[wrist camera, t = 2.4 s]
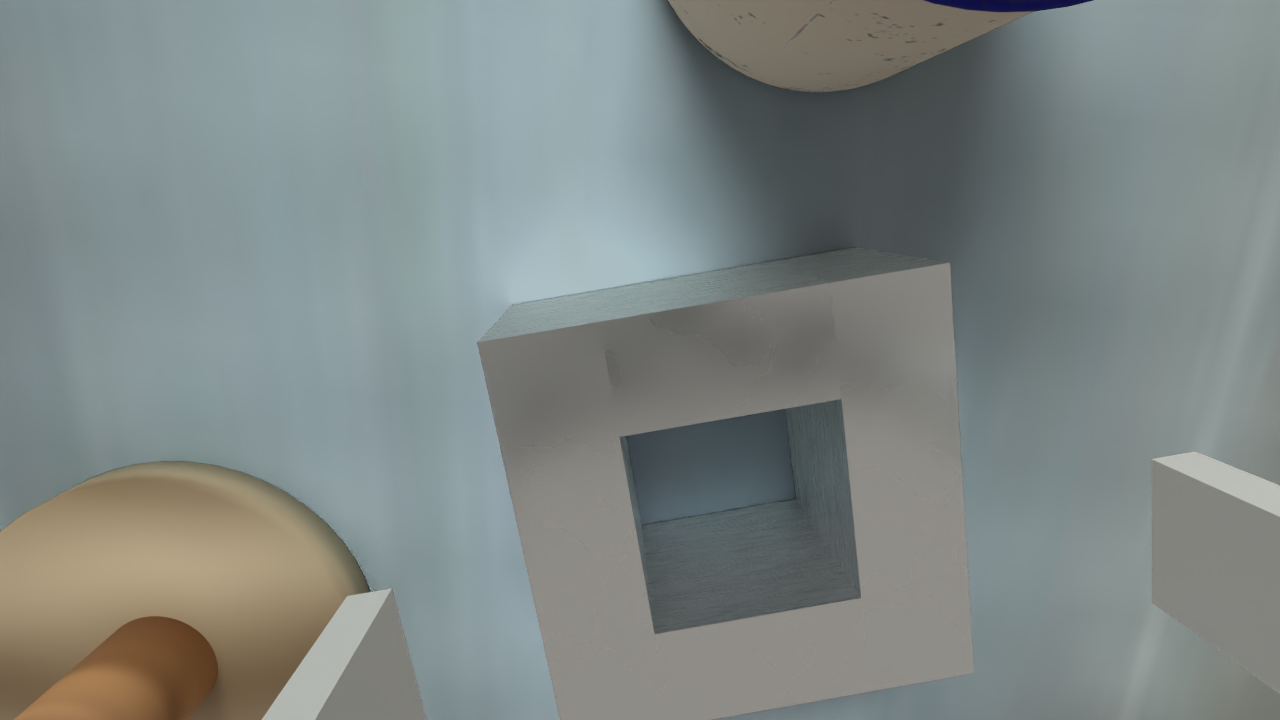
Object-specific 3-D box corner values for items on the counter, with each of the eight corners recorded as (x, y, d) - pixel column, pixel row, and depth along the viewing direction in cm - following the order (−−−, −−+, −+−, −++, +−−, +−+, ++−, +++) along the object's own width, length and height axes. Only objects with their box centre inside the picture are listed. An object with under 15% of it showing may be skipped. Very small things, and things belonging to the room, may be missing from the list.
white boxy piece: (512, 304, 18) (477, 342, 13) (855, 247, 18) (950, 262, 13) (575, 611, 20) (565, 745, 15) (882, 558, 20) (974, 673, 15)
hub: (-53, 496, 18) (-332, 618, 13) (325, 431, 18) (208, 526, 13) (78, 807, 20) (-112, 1023, 15) (413, 747, 20) (346, 940, 15)
